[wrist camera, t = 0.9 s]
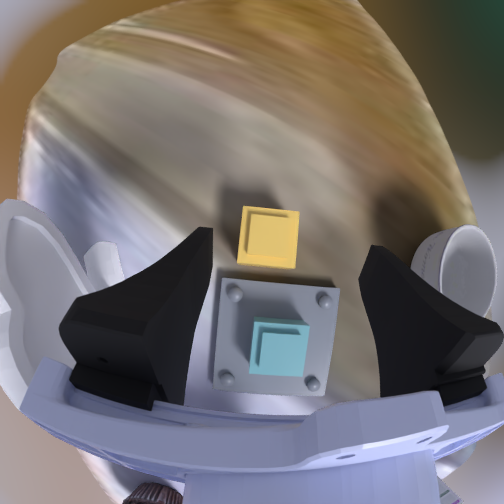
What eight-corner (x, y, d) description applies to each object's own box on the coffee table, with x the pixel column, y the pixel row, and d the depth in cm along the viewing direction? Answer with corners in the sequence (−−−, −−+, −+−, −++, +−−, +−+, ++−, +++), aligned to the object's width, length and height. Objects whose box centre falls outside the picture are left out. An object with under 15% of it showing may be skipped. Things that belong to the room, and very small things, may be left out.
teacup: (437, 218, 29) (477, 205, 21) (468, 286, 28) (508, 287, 20) (363, 281, 28) (399, 283, 20) (402, 354, 27) (439, 373, 19)
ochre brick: (287, 269, 28) (296, 268, 23) (239, 264, 28) (236, 262, 23) (291, 221, 29) (300, 210, 23) (244, 216, 29) (242, 204, 23)
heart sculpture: (150, 358, 27) (54, 436, 9) (115, 365, 27) (14, 430, 9) (112, 227, 28) (-4, 183, 10) (80, 241, 28) (-36, 213, 10)
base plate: (321, 391, 27) (332, 410, 22) (213, 385, 27) (207, 403, 22) (336, 287, 28) (352, 290, 23) (223, 277, 28) (217, 278, 23)
